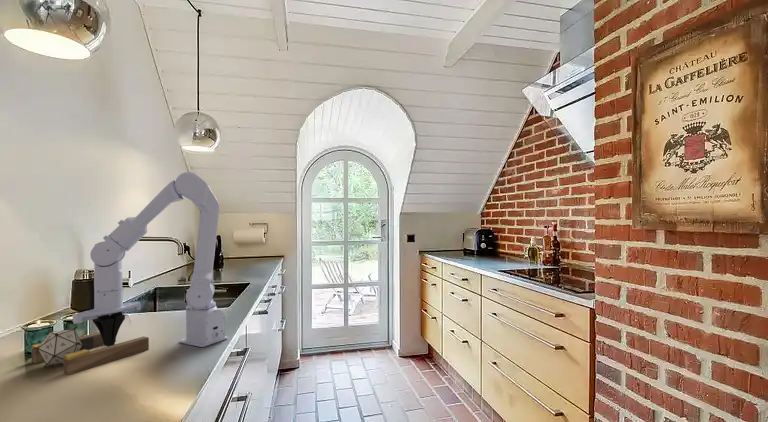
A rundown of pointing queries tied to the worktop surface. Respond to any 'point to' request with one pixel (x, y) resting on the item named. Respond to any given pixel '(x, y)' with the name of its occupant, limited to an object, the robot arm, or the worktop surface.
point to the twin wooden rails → (96, 352)
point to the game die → (59, 346)
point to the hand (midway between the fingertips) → (109, 345)
